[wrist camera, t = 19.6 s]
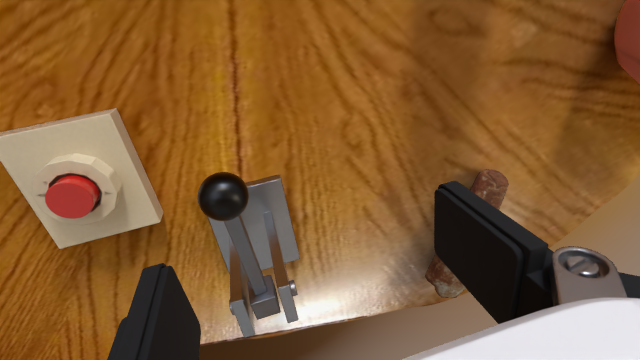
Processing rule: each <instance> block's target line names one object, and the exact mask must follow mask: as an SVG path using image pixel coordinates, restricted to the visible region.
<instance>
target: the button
mask: <svg viewBox="0 0 640 360" xmlns="http://www.w3.org/2000/svg"><path fill="white" fill-rule="evenodd" d="M98 200H99V190H98V187H97V186H96V185H95V183H94V182H93V181H91V180H90V179H88V178H86V177H84V176H80V175H67V176H64V177H61V178H60V179H58V180H57V181H56V182H55V183H54V184H53V185H52V186H51V187H50V188H49V189H48V190H47V192H46V194H45V202H46V205H47V207H48V208H49V209H50V210H51V211H52V212H53V213H55V214H56V215H58V216H61V217H64V218H69V219H76V218H81V217H83V216H85V215H87V214H88V213H90V211H91V210H92V209H93V207H94V206H95V204H96V203H97V202H98Z"/></svg>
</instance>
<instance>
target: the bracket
mask: <svg viewBox="0 0 640 360" xmlns="http://www.w3.org/2000/svg"><path fill="white" fill-rule="evenodd" d="M245 184H246V186H247V189H248V193H249V199H248V204H247V206H246V208H245V210H244V211H243V212H242V214H241V217H242V220H243V222H244V225H245V228H246V230H247V233H248V236H249V239H250V241H251V244H252V247H253V249H254V252H255V255H256V257H257V260H258V263H259V265H260V268H261V270H264V269H268V268H271V267H273V268H274V273H275V278H276V283H277V288H278V292H279V295H280V299H281V302H282V305H283V308H284V312H285V315H286V318H287V322H288V323H291V322H294V321H297V320H298V315H297V311H296V307H295V303H294V299H293V296H296V295H298V294H297V290H296V286H295V283H294V280H291V281H289V279H288V275H287V271H286V266H285V263H288V262H291V261H294V260H298V259H300V256H299V252H298V248H297V243H296V239H295V235H294V231H293V227H292V223H291V219H290V214H289V210H288V206H287V202H286V198H285V194H284V190H283V186H282V181H281V178H280V175H275V176H271V177H268V178H264V179H260V180H256V181H252V182H248V183H245ZM208 219H209V221H210V224H211V227H212V229H213V232H214V234H215V237H216V240H217V242H218V245H219V248H220V250H221V253H222V255H223V258H224V261H225V263H226V266H227V269H228V271H229V274H230V300H229V304H230V310H231V313H232V315H235V316H236V318H237V321H238V323H239V326H240V328H241V331H242V333H243V336H244V338H245V337H248V336H251V335H254V334H255V327H254V316H253V309H252V307H251V305H250V299H249V291H248V284H247V282H248V281H249V279H248V277H247V275H246V272H245V270H244V268H243V265H242V263H241V261H240V258H239V256H238V254H237V251H236V249H235V247H234V244H233V242H232V240H231V238H230V235H229V233H228V231H227V228H226V226H225V224H224V221H217V220H214V219H211V218H209V217H208Z"/></svg>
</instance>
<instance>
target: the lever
mask: <svg viewBox="0 0 640 360" xmlns="http://www.w3.org/2000/svg"><path fill="white" fill-rule="evenodd" d="M248 199H249V193H248V189H247V186H246V184H245V183H244V182H243V180H242V179H241V178H239V177H238V176H236V175H234V174H232V173H228V172H219V173H215V174H213V175H211V176H209V177H208V178H206V179H205V180H204V181H203V183H202V184H201V186H200V188H199V191H198V203H199V206H200V208H201V210H202V211H203V212H204V214H205V215H207V216H208V217H209V218H211V219H214V220H217V221H224V224H225V226H226V228H227V231H228V233H229V235H230V238H231V240H232V242H233V244H234V247H235V249H236V251H237V254H238V256H239V258H240V261H241V263H242V265H243V268H244V270H245V272H246V275H247V277H248V279H249V281H248V282H247V284H248V291H249V299H250V305H251V307H252V309H253V311H254V314H255V316H256V318H257V320H258V319H261V318H264V317H268V316H271V315H274V314H277V313H280V312H281V311H280V307H279V302H278V297H277V292H276V289H275V286H274V283H273V280H272V277H271V275H268V276H263V274H262V271H261V268H260V265H259V263H258V260H257V257H256V255H255V252H254V249H253V247H252V244H251V241H250V239H249V236H248V233H247V230H246V228H245V225H244V222H243V220H242V217H241V214H242V212H243V211H244V210H245V208H246V206H247V204H248Z"/></svg>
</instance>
